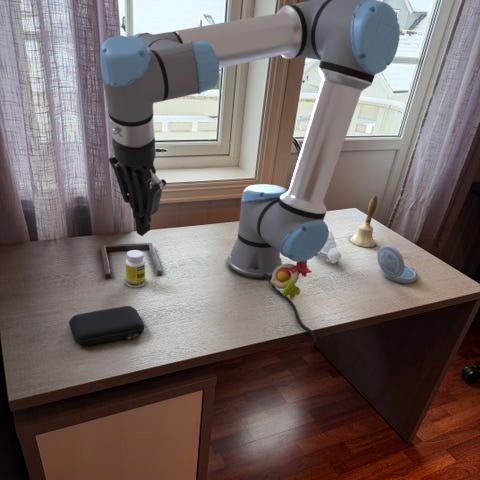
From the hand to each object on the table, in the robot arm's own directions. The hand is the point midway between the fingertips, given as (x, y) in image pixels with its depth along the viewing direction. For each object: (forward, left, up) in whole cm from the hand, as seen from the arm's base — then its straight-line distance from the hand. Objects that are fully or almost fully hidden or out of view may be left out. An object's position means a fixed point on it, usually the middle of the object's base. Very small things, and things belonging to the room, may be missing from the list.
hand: (143, 231), depth 99 cm
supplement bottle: (+7, -2, -18) cm, 19 cm away
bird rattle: (-19, -27, -15) cm, 36 cm away
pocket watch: (-31, -68, -18) cm, 77 cm away
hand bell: (-11, -79, -18) cm, 82 cm away
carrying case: (-7, +14, -18) cm, 24 cm away
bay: (+18, -7, -18) cm, 26 cm away
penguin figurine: (-11, -58, -18) cm, 62 cm away
